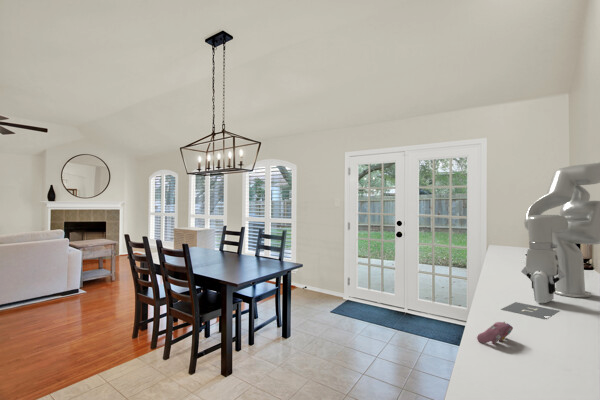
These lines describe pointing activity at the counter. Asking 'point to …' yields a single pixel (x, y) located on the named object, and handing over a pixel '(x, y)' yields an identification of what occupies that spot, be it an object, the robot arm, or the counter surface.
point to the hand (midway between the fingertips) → (543, 291)
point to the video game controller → (495, 333)
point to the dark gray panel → (530, 310)
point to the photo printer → (541, 287)
